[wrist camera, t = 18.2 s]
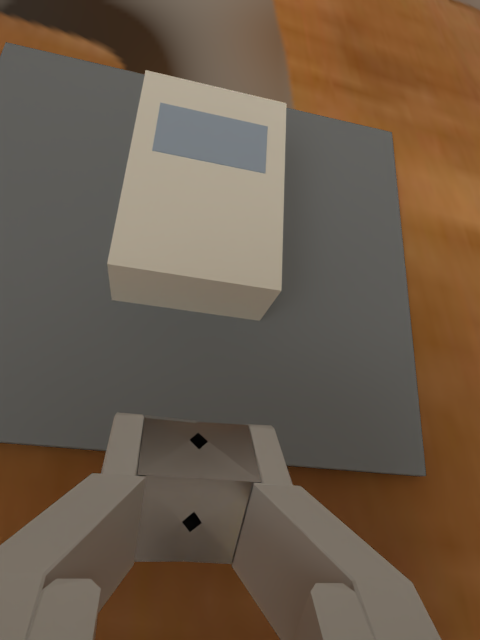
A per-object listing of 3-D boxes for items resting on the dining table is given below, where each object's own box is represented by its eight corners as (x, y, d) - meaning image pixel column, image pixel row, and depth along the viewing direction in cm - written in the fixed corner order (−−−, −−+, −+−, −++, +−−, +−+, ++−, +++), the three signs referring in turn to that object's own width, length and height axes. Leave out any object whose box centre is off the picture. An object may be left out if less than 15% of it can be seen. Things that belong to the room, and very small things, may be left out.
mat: (-137, 431, 14) (-146, 429, 14) (8, 52, 21) (5, 42, 21) (418, 476, 18) (426, 475, 17) (387, 139, 25) (391, 132, 24)
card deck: (107, 263, 14) (145, 68, 18) (111, 300, 17) (144, 126, 21) (281, 290, 15) (286, 102, 19) (259, 321, 18) (267, 152, 22)
